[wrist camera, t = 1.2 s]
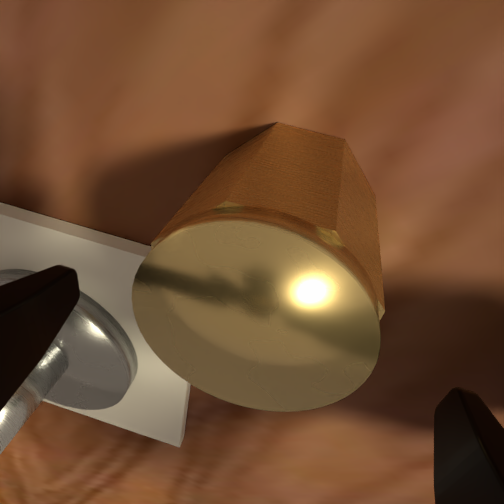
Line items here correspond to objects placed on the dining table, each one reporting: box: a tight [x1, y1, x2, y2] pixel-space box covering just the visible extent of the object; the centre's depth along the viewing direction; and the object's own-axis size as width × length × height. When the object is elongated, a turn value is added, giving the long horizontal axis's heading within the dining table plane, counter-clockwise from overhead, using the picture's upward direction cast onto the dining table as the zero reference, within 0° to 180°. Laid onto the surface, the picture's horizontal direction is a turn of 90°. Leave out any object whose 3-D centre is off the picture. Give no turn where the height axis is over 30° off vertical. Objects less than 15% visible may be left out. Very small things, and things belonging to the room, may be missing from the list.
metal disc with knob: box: [0, 269, 138, 454], centre depth 19 cm, size 10×10×6 cm
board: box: [0, 202, 191, 448], centre depth 22 cm, size 18×16×1 cm
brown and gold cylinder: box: [132, 123, 385, 412], centre depth 11 cm, size 6×6×7 cm
